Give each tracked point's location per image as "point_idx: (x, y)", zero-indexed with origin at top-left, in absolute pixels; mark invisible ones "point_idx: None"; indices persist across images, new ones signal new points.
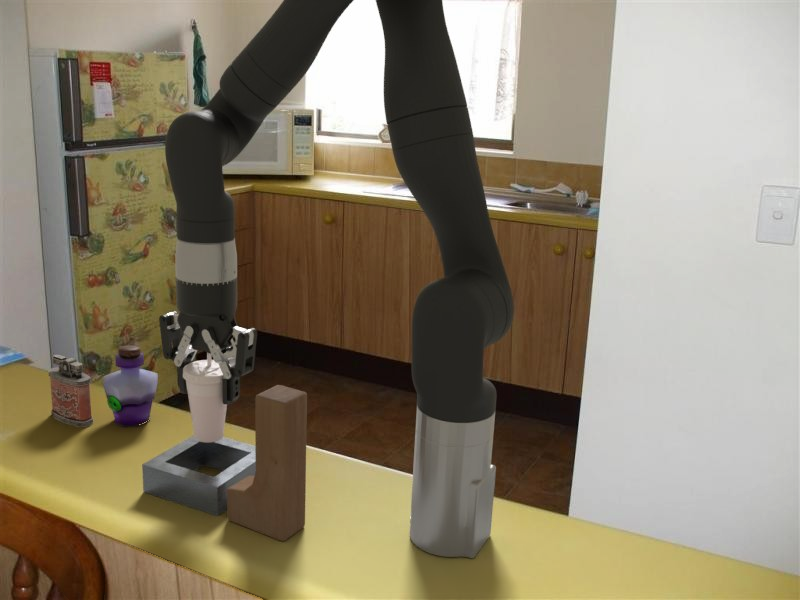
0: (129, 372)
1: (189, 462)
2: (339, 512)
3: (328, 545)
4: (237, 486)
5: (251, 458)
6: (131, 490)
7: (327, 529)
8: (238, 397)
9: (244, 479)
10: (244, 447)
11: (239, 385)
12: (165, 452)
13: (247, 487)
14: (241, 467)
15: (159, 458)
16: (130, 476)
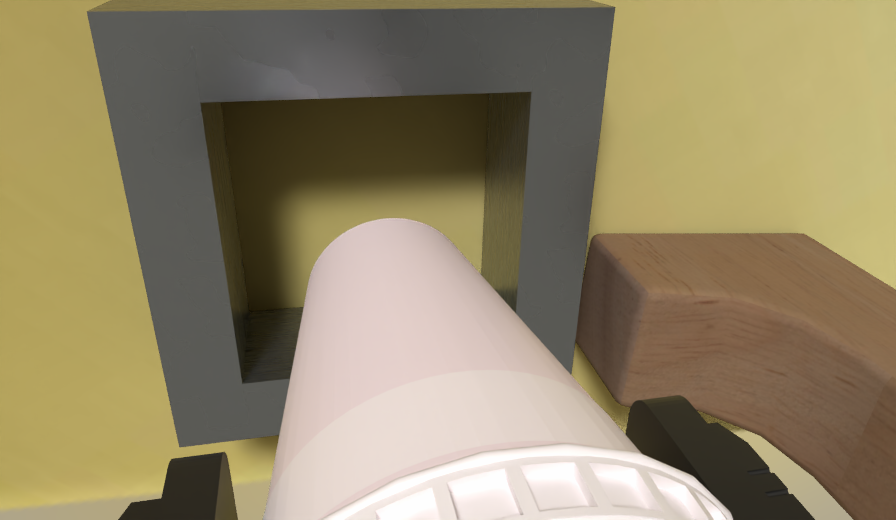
0: None
1: (226, 195)
2: (886, 95)
3: (886, 269)
4: (656, 389)
5: (565, 145)
6: (145, 381)
7: (868, 205)
8: (722, 431)
9: (654, 337)
10: (466, 59)
11: (802, 512)
12: (162, 323)
13: (703, 390)
14: (568, 236)
15: (194, 377)
16: (35, 318)
